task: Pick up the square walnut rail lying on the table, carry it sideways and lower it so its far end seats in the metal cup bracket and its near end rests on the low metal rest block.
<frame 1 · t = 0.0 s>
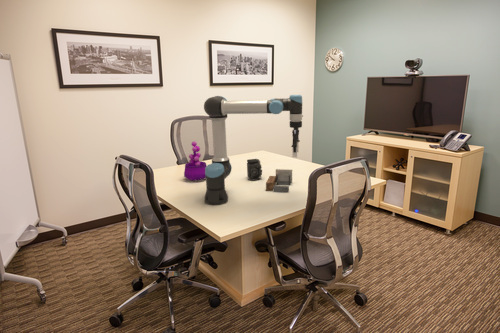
hand: (295, 154, 206), 28 cm above the table, fingers open, 13 cm apart
rail: (271, 187, 234), on the table
rest block: (281, 191, 225), on the table
decorative plant: (196, 179, 256), on the table
camera: (254, 179, 253), on the table
cup bracket: (283, 184, 239), on the table
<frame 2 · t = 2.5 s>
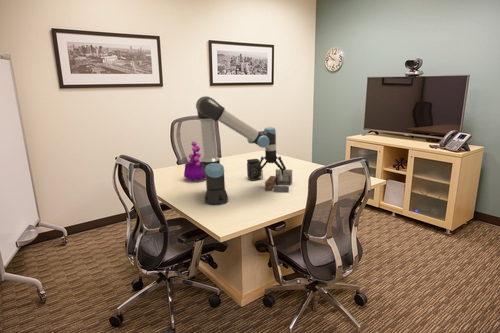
hand: (271, 179, 232), 6 cm above the table, fingers open, 13 cm apart
nothing on the table moved.
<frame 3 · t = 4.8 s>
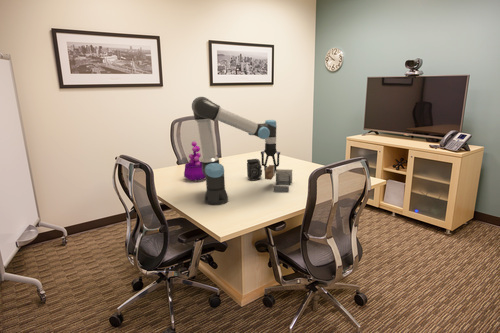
hand: (270, 175, 231), 9 cm above the table, fingers closed on rail, 5 cm apart
rail: (270, 176, 231), point 8 cm above the table, touching gripper
everything else where it was.
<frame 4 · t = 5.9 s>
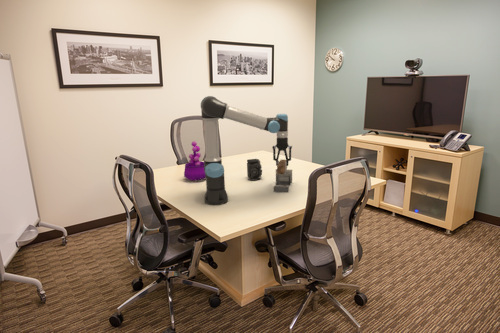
hand: (282, 170, 228), 13 cm above the table, fingers closed on rail, 5 cm apart
rail: (282, 170, 229), point 12 cm above the table, touching gripper
everything else where it was.
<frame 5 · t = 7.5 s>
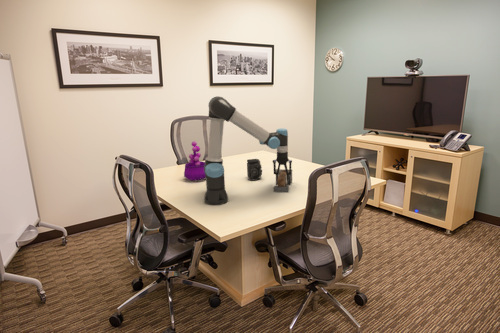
hand: (282, 183, 231), 3 cm above the table, fingers closed on rail, 5 cm apart
rail: (282, 183, 231), point 3 cm above the table, touching cup bracket, gripper, rest block
everything else where it was.
when the fingers open (3 cm above the table, at t = 7.7 s): rail stays where it is, resting on cup bracket, rest block.
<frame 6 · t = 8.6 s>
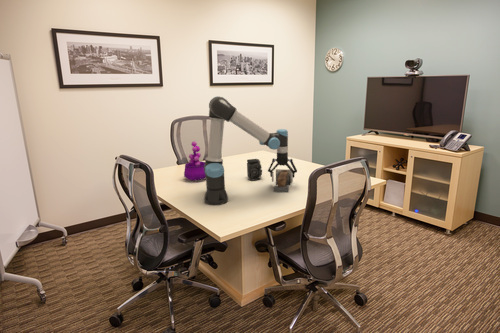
hand: (282, 181, 231), 4 cm above the table, fingers open, 13 cm apart
rail: (282, 183, 231), point 3 cm above the table, touching cup bracket, rest block
everything else where it was.
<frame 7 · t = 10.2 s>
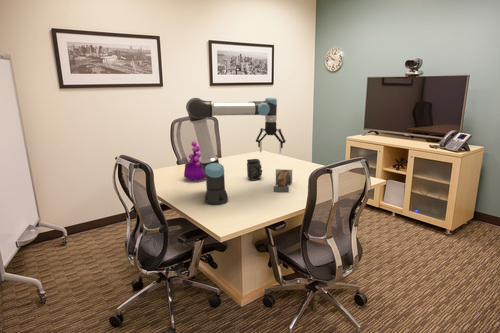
hand: (270, 152, 226), 25 cm above the table, fingers open, 13 cm apart
nothing on the table moved.
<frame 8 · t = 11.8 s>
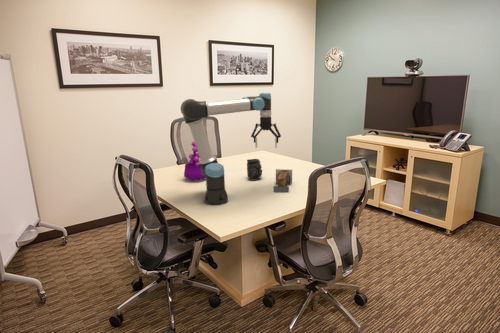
hand: (266, 147, 226), 29 cm above the table, fingers open, 13 cm apart
nothing on the table moved.
at the end: rail 0.1 cm from the target spot, point 3.0 cm above the table; rail tilted 0°; rail touching cup bracket, rest block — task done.
